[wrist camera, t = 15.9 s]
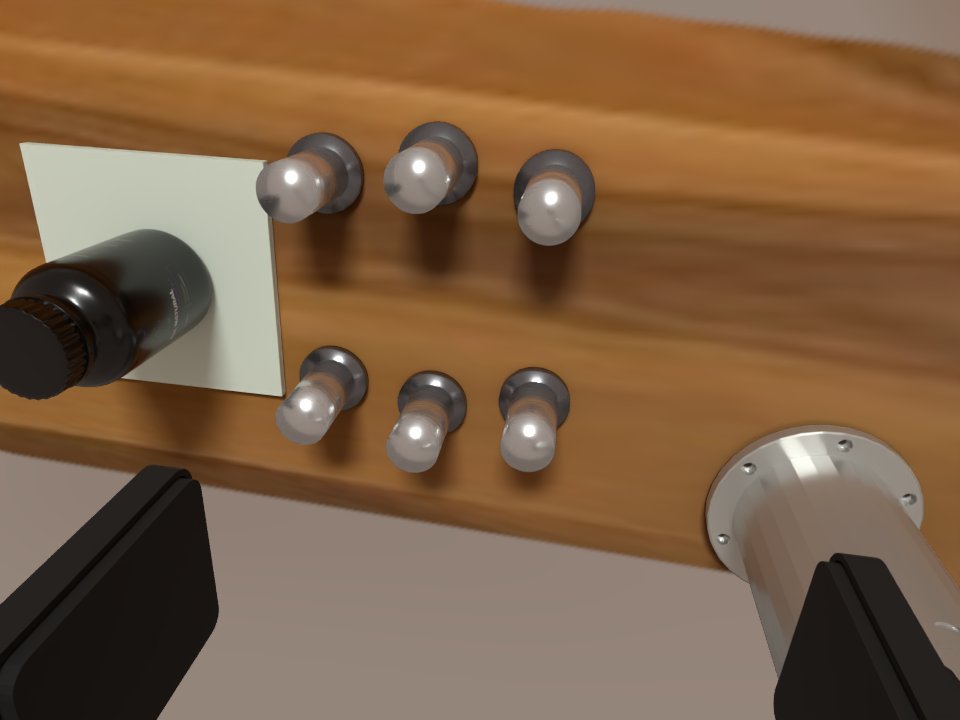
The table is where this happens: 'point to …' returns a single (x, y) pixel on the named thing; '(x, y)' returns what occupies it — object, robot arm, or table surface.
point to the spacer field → (418, 189)
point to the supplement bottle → (100, 313)
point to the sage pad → (195, 220)
